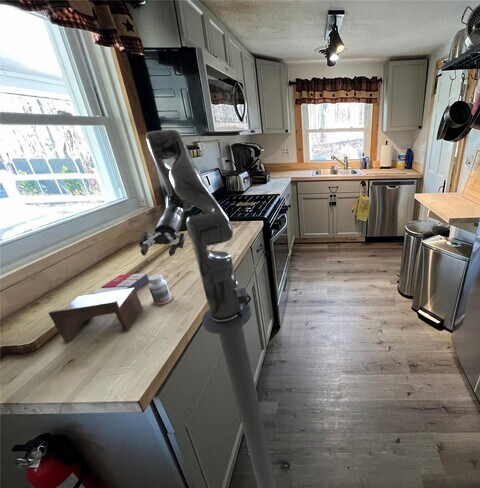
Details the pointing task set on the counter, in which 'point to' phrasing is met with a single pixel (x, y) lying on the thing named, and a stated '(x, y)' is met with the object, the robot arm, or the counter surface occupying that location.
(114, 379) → the counter surface
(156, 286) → the pill bottle
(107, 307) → the spice shelf
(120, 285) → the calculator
